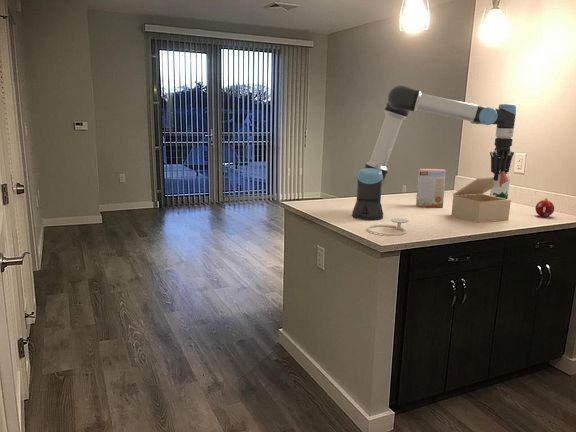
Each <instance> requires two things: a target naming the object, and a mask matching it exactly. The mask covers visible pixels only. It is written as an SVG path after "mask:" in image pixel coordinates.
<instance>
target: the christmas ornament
mask: <svg viewBox="0 0 576 432" xmlns="http://www.w3.org/2000/svg"><path fill="white" fill-rule="evenodd" d="M554 212H555V205H554V203H553V202H552V201H550V200H548V197H545V198H544V200H540V201H538V202H537V204H536V205H535V213H536V214H537V215H538V216H539V217H542V218H543V217H544V218H546V217H549V216H551V215H552V214H553V213H554Z"/></svg>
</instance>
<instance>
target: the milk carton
mask: <svg viewBox="0 0 576 432" xmlns="http://www.w3.org/2000/svg"><path fill="white" fill-rule="evenodd" d="M492 177H494V175H492ZM509 188H510V178H509V179H508V181H507V182H506V183H504V184H503V188H500V187H499V188H496V187H493V188H492V189H490V190H489V195H490V196H495V197H499V198H504V199H509V190H510V189H509Z"/></svg>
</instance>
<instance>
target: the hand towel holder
mask: <svg viewBox="0 0 576 432" xmlns="http://www.w3.org/2000/svg"><path fill="white" fill-rule="evenodd" d="M389 220H390V221H391V222H392V223H397V224H396V225H392V224H391V225H390V224H372V225H370V226H367V227H366V231H367V230H368V231H370V232H372V233H371V234H373V233H377V234H382V235H381V236H384V235H398V236H403V235H405V234H406V232H407V231H406V229H405V228H403V227H402V224H407V223H408V222H409V221H410V220H409V219H407V218H403V217H392V218H390V219H389ZM375 226H383V227H382V228H391V227H392V228H391V229H396V228H397V229H396V230H401V232H398V233H397V232H395V233H386V232H385V233H384V232H378V231H377V232H376V231H373V230H370V229H371V227H373V228H376V227H375ZM369 228H370V229H369ZM368 231H367V232H368ZM370 232H369V233H370ZM377 234H376V235H377ZM402 234H403V235H402Z"/></svg>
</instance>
